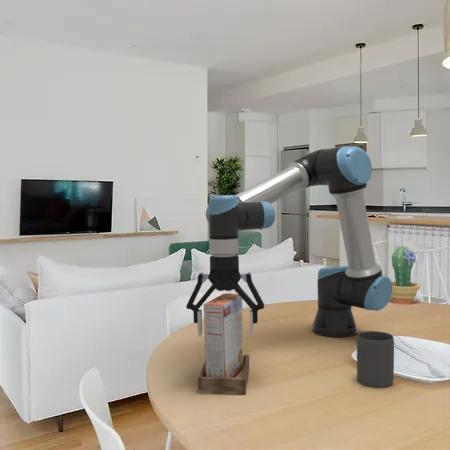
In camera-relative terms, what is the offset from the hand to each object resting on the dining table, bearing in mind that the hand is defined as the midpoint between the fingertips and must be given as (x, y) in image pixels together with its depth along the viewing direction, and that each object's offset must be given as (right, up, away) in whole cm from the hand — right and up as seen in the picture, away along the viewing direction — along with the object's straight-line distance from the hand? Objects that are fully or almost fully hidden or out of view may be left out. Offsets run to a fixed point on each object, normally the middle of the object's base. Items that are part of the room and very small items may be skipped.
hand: (225, 335), depth 130 cm
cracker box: (0, -11, 0) cm, 11 cm away
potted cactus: (+79, -6, +93) cm, 122 cm away
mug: (+39, -12, +1) cm, 41 cm away
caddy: (0, -12, 0) cm, 12 cm away
